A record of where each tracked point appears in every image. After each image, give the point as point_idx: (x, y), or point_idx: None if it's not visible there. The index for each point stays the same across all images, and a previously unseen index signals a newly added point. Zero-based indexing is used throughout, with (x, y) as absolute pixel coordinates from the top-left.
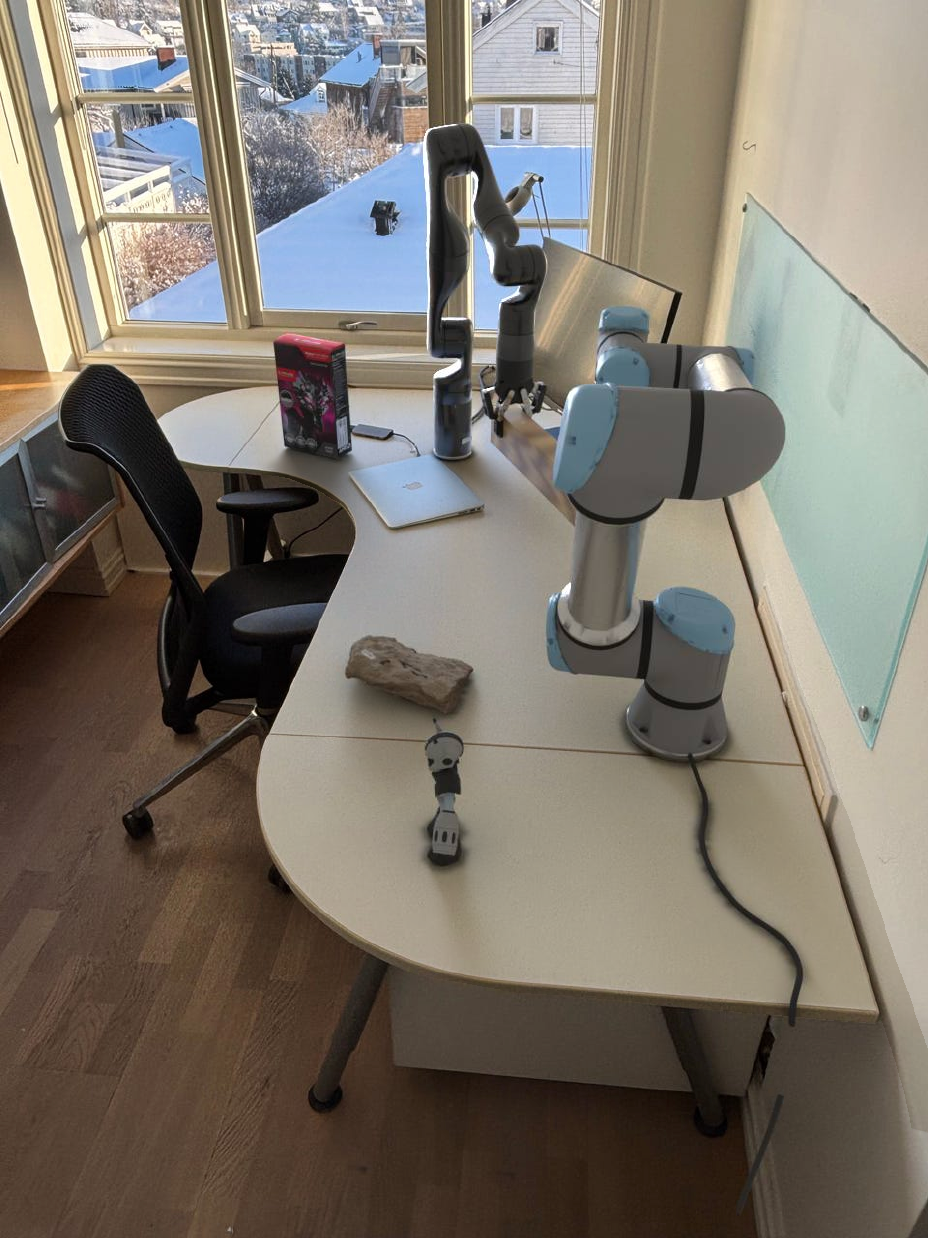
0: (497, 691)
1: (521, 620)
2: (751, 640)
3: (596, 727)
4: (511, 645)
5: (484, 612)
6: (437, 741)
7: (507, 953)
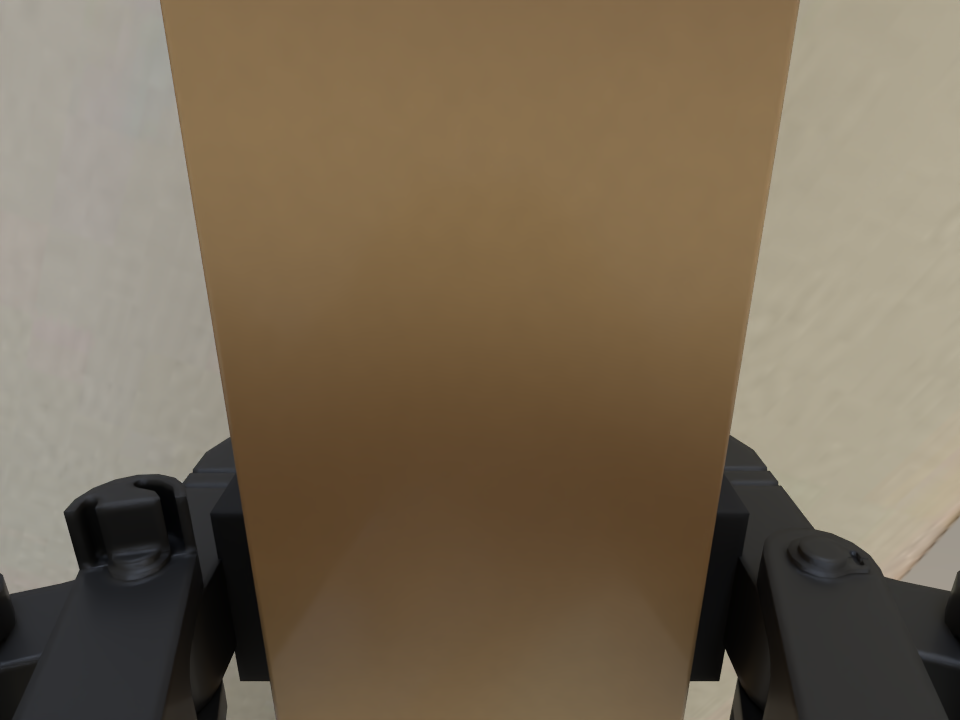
0: (10, 507)
1: (178, 165)
2: (891, 539)
3: (249, 694)
4: (101, 309)
5: (27, 45)
6: None
7: None
